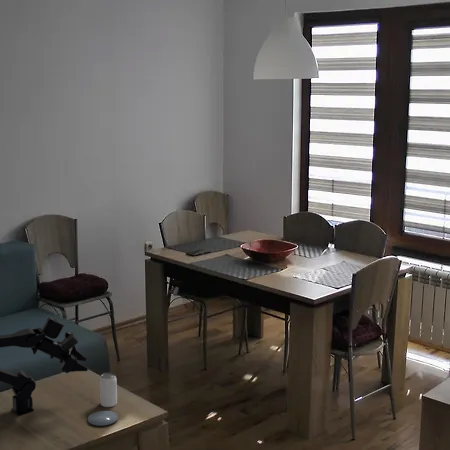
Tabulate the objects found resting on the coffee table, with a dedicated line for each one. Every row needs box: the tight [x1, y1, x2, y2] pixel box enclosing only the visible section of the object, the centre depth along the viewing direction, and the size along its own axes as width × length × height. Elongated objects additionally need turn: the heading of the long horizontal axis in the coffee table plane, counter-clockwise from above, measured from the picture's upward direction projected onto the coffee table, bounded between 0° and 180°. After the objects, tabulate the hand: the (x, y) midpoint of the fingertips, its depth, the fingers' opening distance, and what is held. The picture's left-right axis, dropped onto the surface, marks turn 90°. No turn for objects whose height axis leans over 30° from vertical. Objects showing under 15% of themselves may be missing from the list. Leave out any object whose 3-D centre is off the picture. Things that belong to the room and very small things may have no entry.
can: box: [99, 372, 118, 408], centre depth 272 cm, size 6×6×12 cm
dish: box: [87, 410, 119, 427], centre depth 259 cm, size 11×11×1 cm
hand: (86, 364), depth 273 cm, fingers open, 9 cm apart
